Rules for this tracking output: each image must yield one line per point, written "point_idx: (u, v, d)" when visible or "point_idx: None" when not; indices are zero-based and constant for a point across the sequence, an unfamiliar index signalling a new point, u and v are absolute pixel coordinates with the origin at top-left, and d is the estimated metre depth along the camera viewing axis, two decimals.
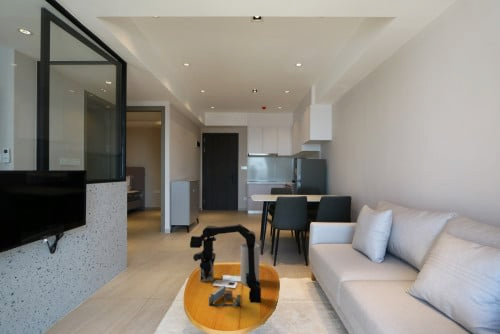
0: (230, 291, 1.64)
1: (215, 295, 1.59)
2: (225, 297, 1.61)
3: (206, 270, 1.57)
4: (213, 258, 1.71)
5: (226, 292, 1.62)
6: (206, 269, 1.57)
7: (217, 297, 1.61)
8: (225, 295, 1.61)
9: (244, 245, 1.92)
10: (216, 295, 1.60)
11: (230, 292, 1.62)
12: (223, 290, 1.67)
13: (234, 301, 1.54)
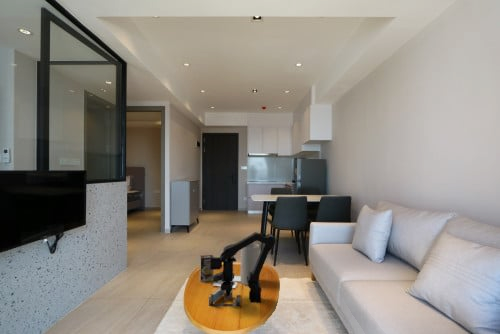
0: None
1: (215, 295, 1.59)
2: (225, 296, 1.61)
3: None
4: (231, 281, 1.63)
5: None
6: None
7: (217, 297, 1.61)
8: (225, 294, 1.61)
9: None
10: (216, 295, 1.60)
11: None
12: (223, 290, 1.67)
13: (234, 301, 1.54)
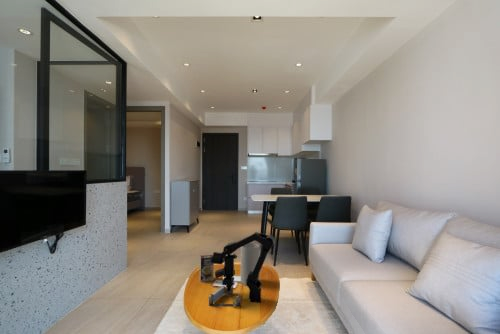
0: None
1: (215, 295, 1.59)
2: (226, 292, 1.67)
3: None
4: (232, 277, 1.70)
5: None
6: None
7: (217, 297, 1.61)
8: (226, 290, 1.67)
9: (244, 245, 1.92)
10: (216, 295, 1.60)
11: (231, 287, 1.69)
12: (223, 290, 1.67)
13: (234, 301, 1.54)
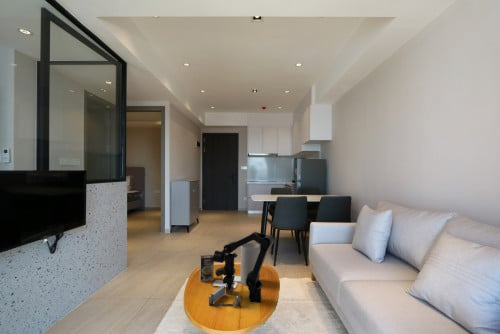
0: None
1: (215, 295, 1.59)
2: (227, 290, 1.70)
3: None
4: (233, 276, 1.72)
5: None
6: None
7: (217, 297, 1.61)
8: (227, 288, 1.70)
9: (244, 245, 1.92)
10: (216, 295, 1.60)
11: None
12: (223, 290, 1.67)
13: (234, 301, 1.54)
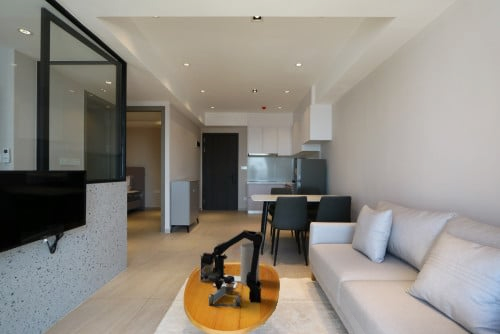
0: (231, 285, 1.73)
1: (215, 295, 1.59)
2: (227, 290, 1.70)
3: (220, 284, 1.66)
4: None
5: (227, 285, 1.71)
6: (220, 283, 1.66)
7: (217, 297, 1.61)
8: (227, 288, 1.70)
9: (244, 245, 1.92)
10: (216, 295, 1.60)
11: (231, 285, 1.71)
12: (223, 290, 1.66)
13: (234, 301, 1.54)
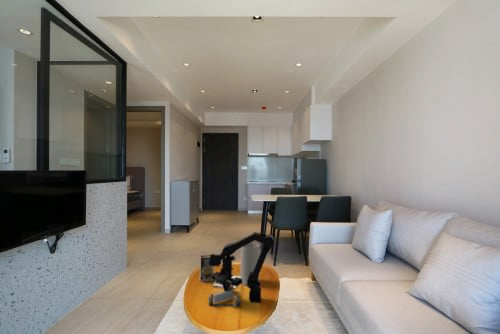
0: (231, 285, 1.73)
1: (216, 296, 1.57)
2: None
3: (228, 286, 1.63)
4: None
5: None
6: (228, 285, 1.63)
7: (220, 299, 1.59)
8: None
9: None
10: (218, 296, 1.58)
11: (231, 285, 1.71)
12: (230, 293, 1.62)
13: (234, 301, 1.54)
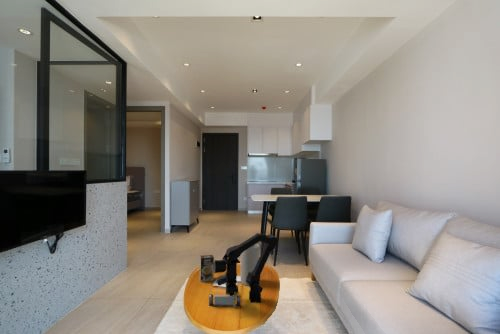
0: None
1: (216, 298, 1.55)
2: None
3: None
4: None
5: None
6: None
7: (220, 302, 1.55)
8: None
9: None
10: (218, 299, 1.55)
11: None
12: (231, 299, 1.55)
13: (234, 301, 1.54)
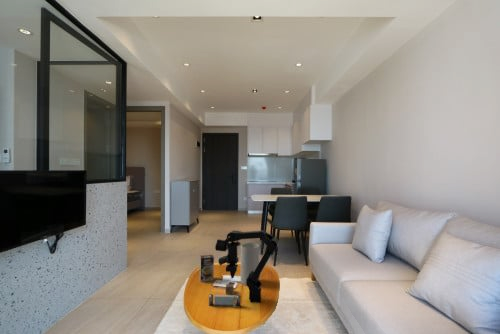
0: (231, 285, 1.73)
1: (216, 298, 1.55)
2: (227, 290, 1.70)
3: (232, 271, 1.66)
4: None
5: (227, 285, 1.71)
6: None
7: (220, 302, 1.55)
8: (227, 288, 1.70)
9: (244, 245, 1.92)
10: (218, 299, 1.55)
11: (231, 285, 1.71)
12: (231, 299, 1.55)
13: (234, 301, 1.54)
